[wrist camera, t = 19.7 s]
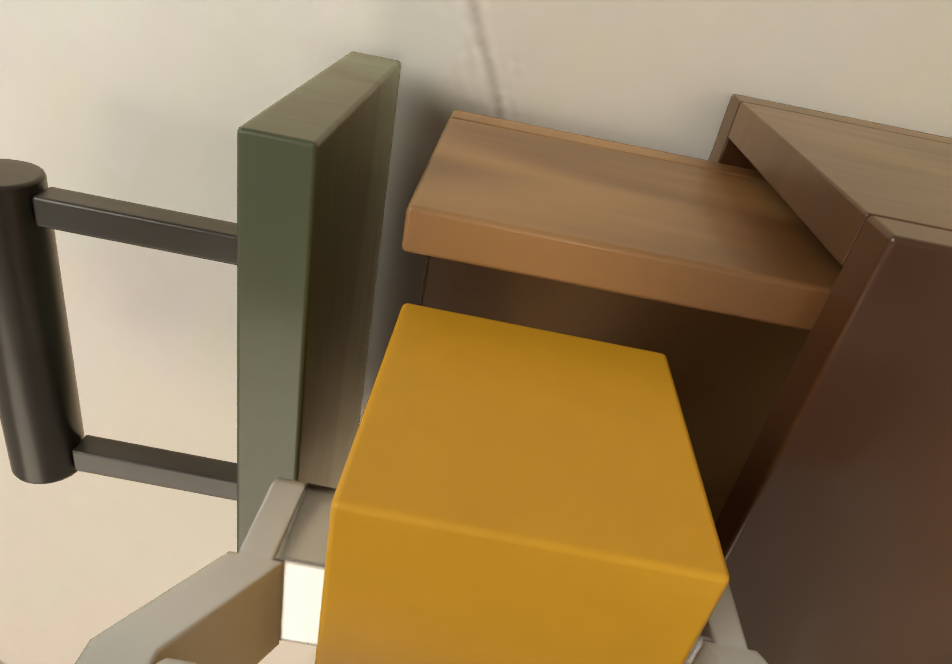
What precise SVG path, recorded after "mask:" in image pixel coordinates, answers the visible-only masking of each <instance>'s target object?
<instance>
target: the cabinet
mask: <svg viewBox="0 0 952 664" xmlns="http://www.w3.org/2000/svg"><path fill="white" fill-rule="evenodd" d="M709 161H711V162H716V163H721V164H726V165H731V166H736V167H741V168H746V169H751V170H756V171H759V173H760V174H761V175H762V176H763V177H764V178H765V179H766V181H767V182H768V183H769V184H770V185H771V186H772V187H773V188H774V190H775V191H776V192H777V193H778V194H779V195H780V196H781V198H782V199H783V200H784V201H785V202H786V203H787V204H788V206H789V207H790V208H791V209H792V210H793V211H794V212H795V214H796V215H797V216H798V217H799V218H800V219H801V220H802V221H803V223H804V224H805V225H806V226H807V227H808V228H809V229H810V231H811V232H812V233H813V234H814V235H815V236H816V237H817V239H818V240H819V241H820V242H821V243H822V244H823V245H824V246H825V248H826V249H827V250H828V251H829V252H830V253H831V254H832V256H833V257H834V258H835V259H836V260H837V261H838V262H839V264H840V265H842V266H843V268H842V270H841V272H840V274H839V276H838V278H837V280H836V282H835V284H834V286H833V288H832V290H831V292H830V294H829V296H828V298H827V300H826V302H825V304H824V306H823V308H822V310H821V312H820V314H819V316H818V318H817V320H816V322H815V324H814V326H813V328H812V330H811V332H810V334H809V336H808V338H807V340H806V342H805V344H804V346H803V348H802V350H801V352H800V354H799V356H798V358H797V360H796V362H795V364H794V366H793V368H792V370H791V372H790V374H789V376H788V378H787V380H786V382H785V384H784V386H783V388H782V390H781V392H780V394H779V396H778V398H777V400H776V402H775V404H774V406H773V408H772V410H771V412H770V414H769V416H768V418H767V420H766V422H765V424H764V426H763V428H762V430H761V432H760V434H759V436H758V438H757V440H756V442H755V444H754V446H753V448H752V450H751V452H750V454H749V456H748V458H747V460H746V462H745V464H744V466H743V468H742V470H741V472H740V474H739V476H738V478H737V480H736V482H735V484H734V486H733V488H732V490H731V492H730V494H729V496H728V498H727V500H726V502H725V504H724V506H723V508H722V510H721V512H720V514H719V516H718V518H717V520H716V522H715V527H716V531H717V534H718V538H719V541H720V545H721V548H722V552H723V555H724V559H725V562H726V566H727V569H728V573H729V585H730V589H731V592H732V596H733V599H734V602H735V606H736V609H737V613H738V616H739V620H740V623H741V626H742V630H743V633H744V637H745V640H746V643H747V647H748V649H749V650H754V651H758V653H759V654H760V655H761V656H762V657H763V658H764V659H765V660H766V661H767V663H768V664H952V138H947V137H942V136H937V135H932V134H927V133H922V132H917V131H912V130H907V129H903V128H898V127H893V126H888V125H883V124H878V123H873V122H868V121H863V120H859V119H854V118H849V117H844V116H839V115H834V114H829V113H824V112H819V111H814V110H810V109H805V108H800V107H795V106H790V105H785V104H780V103H775V102H770V101H765V100H761V99H756V98H751V97H746V96H741V95H736V94H734V95H732V96H731V99H730V102H729V105H728V108H727V110H726V113H725V116H724V119H723V122H722V124H721V127H720V130H719V133H718V136H717V138H716V141H715V144H714V147H713V150H712V152H711V155H710V158H709Z"/></svg>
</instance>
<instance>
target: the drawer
mask: <svg viewBox="0 0 952 664" xmlns="http://www.w3.org/2000/svg"><path fill="white" fill-rule="evenodd" d="M400 69H401V64H400V62H399V61H397V60H392V59H387V58H383V57H378V56H373V55H368V54H363V53H358V52H351V53H349V54H348V55H346V56H345V57H343V58H342V59H340V60H339V61H337V62H336V63H334V64H333V65H331V66H330V67H328V68H327V69H325V70H324V71H322V72H321V73H319V74H318V75H316V76H315V77H313V78H312V79H310V80H309V81H307V82H306V83H304V84H303V85H301V86H300V87H299V88H297V89H296V90H294V91H293V92H291V93H290V94H288V95H287V96H285V97H284V98H282V99H281V100H279V101H278V102H276V103H275V104H273V105H272V106H270V107H269V108H267V109H266V110H264V111H263V112H261V113H260V114H258V115H257V116H255V117H254V118H252V119H251V120H249V121H248V122H247V123H245V124H244V125H242V126H241V127H239V129H238V131H237V223H232V222H227V221H222V220H217V219H212V218H207V217H202V216H197V215H191V214H186V213H181V212H176V211H171V210H166V209H161V208H156V207H151V206H146V205H141V204H136V203H131V202H126V201H121V200H115V199H110V198H105V197H100V196H95V195H90V194H85V193H80V192H75V191H70V190H65V189H60V188H55V187H50V188H48V183H47V177H46V174H45V172H44V170H43V169H42V168H40V167H39V166H37V165H34V164H32V163H28V162H24V161H18V160H11V159H0V420H1V424H2V429H3V433H4V438H5V442H6V447H7V451H8V456H9V460H10V465H11V469H12V472H13V474H14V475H15V476H16V477H17V478H19V479H20V480H22V481H24V482H27V483H33V484H47V483H53V482H57V481H60V480H63V479H65V478H68V477H70V476H71V475H73V474H74V473H76V472H77V471H83V472H88V473H94V474H99V475H104V476H109V477H115V478H120V479H125V480H131V481H136V482H141V483H146V484H152V485H157V486H162V487H168V488H173V489H178V490H183V491H189V492H194V493H199V494H205V495H210V496H215V497H221V498H226V499H231V500H236V501H237V553H238V552H239V550H240V548H241V546H242V544H243V542H244V540H245V538H246V536H247V534H248V532H249V529H250V527H251V525H252V523H253V521H254V519H255V517H256V515H257V513H258V511H259V509H260V507H261V505H262V503H263V501H264V498H265V496H266V494H267V492H268V490H269V488H270V486H271V484H272V483H273V482H274V480H275V479H276V478H277V477H281V478H286V479H290V480H295V481H299V482H304V483H312V484H316V485H321V486H325V487H330V488H335V489H337V486H338V483H339V480H340V477H341V475H342V472H343V469H344V466H345V464H346V461H347V458H348V455H349V452H350V450H351V447H352V444H353V441H354V439H355V436H356V433H357V430H358V427H359V422H360V414H361V405H362V397H363V388H364V379H365V371H366V362H367V353H368V345H369V336H370V328H371V319H372V310H373V302H374V293H375V284H376V276H377V267H378V259H379V250H380V241H381V233H382V224H383V215H384V207H385V198H386V189H387V181H388V172H389V164H390V155H391V146H392V138H393V129H394V120H395V112H396V103H397V95H398V86H399V77H400ZM54 229H56V230H61V231H66V232H71V233H76V234H81V235H86V236H91V237H96V238H101V239H107V240H112V241H117V242H122V243H127V244H132V245H137V246H142V247H147V248H152V249H158V250H163V251H168V252H173V253H178V254H183V255H188V256H193V257H198V258H203V259H209V260H214V261H219V262H224V263H229V264H234V265H237V463H232V462H227V461H222V460H217V459H211V458H206V457H201V456H196V455H190V454H185V453H180V452H174V451H169V450H164V449H159V448H153V447H148V446H143V445H138V444H132V443H127V442H122V441H117V440H111V439H106V438H101V437H96V436H90V435H86V436H85V437H84V430H83V423H82V417H81V410H80V403H79V396H78V389H77V382H76V375H75V369H74V362H73V355H72V348H71V341H70V334H69V327H68V321H67V314H66V307H65V300H64V293H63V286H62V279H61V273H60V266H59V259H58V252H57V245H56V238H55V231H54ZM402 248H403V250H405V251H407V252H412V253H417V254H422V255H427V262H426V269H425V275H424V281H423V288H422V294H421V301H420V306H425V307H430V308H435V309H440V310H445V311H450V312H455V313H460V314H465V315H470V316H476V317H481V318H486V319H491V320H496V321H501V322H506V323H511V324H516V325H521V326H526V327H531V328H536V329H541V330H546V331H551V332H556V333H561V334H566V335H572V336H577V337H582V338H587V339H592V340H597V341H602V342H607V343H612V344H617V345H622V346H627V347H632V348H637V349H642V350H647V351H652V352H657V353H662V354H664V355H665V356H666V357H667V361H668V364H669V368H670V371H671V375H672V378H673V382H674V385H675V389H676V392H677V396H678V399H679V402H680V406H681V409H682V413H683V416H684V420H685V423H686V427H687V430H688V434H689V437H690V441H691V444H692V448H693V451H694V455H695V458H696V462H697V465H698V468H699V472H700V475H701V479H702V482H703V486H704V489H705V493H706V496H707V500H708V503H709V507H710V510H711V514H712V517H713V521H714V524H715V522H716V520H717V518H718V516H719V514H720V512H721V510H722V508H723V506H724V504H725V502H726V500H727V498H728V496H729V494H730V492H731V490H732V488H733V486H734V484H735V482H736V480H737V478H738V476H739V474H740V472H741V470H742V468H743V466H744V464H745V462H746V460H747V458H748V456H749V454H750V452H751V450H752V448H753V446H754V444H755V442H756V440H757V438H758V436H759V434H760V432H761V430H762V428H763V426H764V424H765V422H766V420H767V418H768V416H769V414H770V412H771V410H772V408H773V406H774V404H775V402H776V400H777V398H778V396H779V394H780V392H781V390H782V388H783V386H784V384H785V382H786V380H787V378H788V376H789V374H790V372H791V370H792V368H793V366H794V364H795V362H796V360H797V358H798V356H799V354H800V352H801V350H802V348H803V346H804V344H805V342H806V340H807V338H808V336H809V334H810V332H811V330H812V328H813V326H814V324H815V322H816V320H817V318H818V316H819V314H820V312H821V310H822V308H823V306H824V304H825V302H826V300H827V298H828V296H829V294H830V292H831V290H832V288H833V286H834V284H835V282H836V280H837V278H838V276H839V274H840V272H841V270H842V268H843V266H842V265H840V264H839V262H838V261H837V260H836V259H835V258H834V257H833V256H832V254H831V253H830V252H829V251H828V250H827V249H826V248H825V246H824V245H823V244H822V243H821V242H820V241H819V240H818V239H817V237H816V236H815V235H814V234H813V233H812V232H811V231H810V229H809V228H808V227H807V226H806V225H805V224H804V223H803V221H802V220H801V219H800V218H799V217H798V216H797V215H796V214H795V212H794V211H793V210H792V209H791V208H790V207H789V206H788V204H787V203H786V202H785V201H784V200H783V199H782V198H781V196H780V195H779V194H778V193H777V192H776V191H775V190H774V188H773V187H772V186H771V185H770V184H769V183H768V182H767V181H766V179H765V178H764V177H763V176H762V175H761V174H760V173H759V171H756V170H751V169H746V168H741V167H736V166H731V165H726V164H721V163H716V162H711V161H706V160H701V159H697V158H692V157H687V156H682V155H677V154H672V153H667V152H662V151H657V150H652V149H647V148H642V147H637V146H632V145H627V144H622V143H617V142H612V141H607V140H602V139H598V138H593V137H588V136H583V135H578V134H573V133H568V132H563V131H558V130H553V129H548V128H543V127H538V126H533V125H528V124H523V123H518V122H513V121H508V120H503V119H498V118H494V117H489V116H484V115H479V114H474V113H469V112H464V111H459V110H454V111H453V112H452V114H451V116H450V118H449V120H448V122H447V124H446V126H445V128H444V130H443V133H442V135H441V137H440V139H439V141H438V143H437V145H436V147H435V149H434V152H433V154H432V156H431V158H430V160H429V162H428V164H427V166H426V168H425V171H424V173H423V175H422V177H421V179H420V181H419V183H418V185H417V188H416V190H415V192H414V194H413V196H412V198H411V200H410V202H409V204H408V207H407V209H406V216H405V223H404V231H403V238H402Z"/></svg>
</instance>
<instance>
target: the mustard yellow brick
mask: <svg viewBox="0 0 952 664" xmlns="http://www.w3.org/2000/svg"><path fill="white" fill-rule="evenodd" d="M728 583H729V573H728V569H727V566H726V562H725V559H724V555H723V552H722V548H721V545H720V541H719V538H718V534H717V531H716V527H715V524H714V521H713V517H712V514H711V510H710V507H709V503H708V500H707V496H706V493H705V489H704V486H703V482H702V479H701V475H700V472H699V468H698V465H697V462H696V458H695V455H694V451H693V448H692V444H691V441H690V437H689V434H688V430H687V427H686V423H685V420H684V416H683V413H682V409H681V406H680V402H679V399H678V396H677V392H676V389H675V385H674V382H673V378H672V375H671V371H670V368H669V364H668V361H667V357H666V356H665V355H664V354H662V353H657V352H652V351H647V350H642V349H637V348H632V347H627V346H622V345H617V344H612V343H607V342H602V341H597V340H592V339H587V338H582V337H577V336H572V335H566V334H561V333H556V332H551V331H546V330H541V329H536V328H531V327H526V326H521V325H516V324H511V323H506V322H501V321H496V320H491V319H486V318H481V317H476V316H470V315H465V314H460V313H455V312H450V311H445V310H440V309H435V308H430V307H425V306H420V305H415V304H410V303H405V304H404V305H403V306H402V308H401V311H400V314H399V316H398V319H397V322H396V325H395V327H394V330H393V333H392V336H391V339H390V341H389V344H388V347H387V350H386V352H385V355H384V358H383V361H382V364H381V366H380V369H379V372H378V375H377V377H376V380H375V383H374V386H373V389H372V391H371V394H370V397H369V400H368V402H367V405H366V408H365V411H364V414H363V416H362V419H361V422H360V425H359V427H358V430H357V433H356V436H355V439H354V441H353V444H352V447H351V450H350V452H349V455H348V458H347V461H346V464H345V466H344V469H343V472H342V475H341V477H340V480H339V483H338V486H337V489H336V491H335V494H334V497H333V500H332V502H331V510H330V520H329V530H328V540H327V550H326V560H325V570H324V580H323V590H322V600H321V610H320V620H319V630H318V640H317V650H316V660H315V664H684V663H685V661H686V659H687V657H688V656H689V654H690V652H691V650H692V648H693V647H694V645H695V643H696V641H697V639H698V638H699V636H700V634H701V632H702V630H703V629H704V627H705V625H706V623H707V621H708V620H709V618H710V616H711V614H712V612H713V611H714V609H715V607H716V605H717V603H718V602H719V600H720V598H721V596H722V594H723V593H724V591H725V589H726V587H727V585H728Z"/></svg>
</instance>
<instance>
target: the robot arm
mask: <svg viewBox="0 0 952 664" xmlns="http://www.w3.org/2000/svg"><path fill="white" fill-rule="evenodd" d="M335 491H336V489H335V488H330V487H325V486H321V485H316V484H312V483H304V482H299V481H295V480H290V479H286V478H281V477H277V478H276V479H275V480H274V482H273V483H272V484H271V486H270V488H269V490H268V492H267V494H266V496H265V498H264V501H263V503H262V505H261V507H260V509H259V511H258V513H257V515H256V517H255V519H254V521H253V523H252V525H251V527H250V529H249V532H248V534H247V536H246V538H245V540H244V542H243V544H242V546H241V548H240V550H239V552H238V553H235V552H227V553H226V554H224V555H223V556H221V557H220V558H218V559H216V560H215V561H213V562H212V563H210V564H209V565H207V566H205V567H204V568H202V569H201V570H199V571H198V572H196V573H194V574H193V575H191V576H190V577H188V578H187V579H185V580H183V581H182V582H180V583H179V584H177V585H176V586H174V587H172V588H171V589H169V590H168V591H166V592H165V593H163V594H161V595H160V596H158V597H157V598H155V599H154V600H152V601H150V602H149V603H147V604H146V605H144V606H143V607H141V608H139V609H138V610H136V611H135V612H133V613H132V614H130V615H128V616H127V617H125V618H124V619H122V620H121V621H119V622H117V623H116V624H114V625H113V626H111V627H110V628H108V629H106V630H105V631H103V632H102V633H100V634H99V635H97V636H95V637H94V638H92V639H91V640H90V641H89V642H88V644H87V645H86V647H85V648H84V650H83V652H82V653H81V655H80V656H79V658H78V659H77V661H76V663H75V664H258V663H259V662H260V661H261V660H262V659H263V658H264V657H265V656H266V655H267V654H268V653H269V652H271V651H272V650H273V649H274V648H275V647H276V646H277V645H278V644H279V640H282V641H289V642H295V643H301V644H308V645H314V646H317V640H318V630H319V620H320V610H321V600H322V590H323V580H324V570H325V560H326V550H327V540H328V530H329V520H330V510H331V502H332V500H333V497H334V494H335ZM684 664H768V663H767V661H766V660H765V659H764V658H763V657H762V656H761V655H760V654H759V653H758V651H754V650H749V649H748V647H747V643H746V640H745V637H744V633H743V630H742V626H741V623H740V620H739V616H738V613H737V609H736V606H735V602H734V599H733V596H732V592H731V589H730V585H729V583H728V585H727V587H726V589H725V591H724V593H723V594H722V596H721V598H720V600H719V602H718V603H717V605H716V607H715V609H714V611H713V612H712V614H711V616H710V618H709V620H708V621H707V623H706V625H705V627H704V629H703V630H702V632H701V634H700V636H699V638H698V639H697V641H696V643H695V645H694V647H693V648H692V650H691V652H690V654H689V656H688V657H687V659H686V661H685V663H684Z"/></svg>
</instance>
